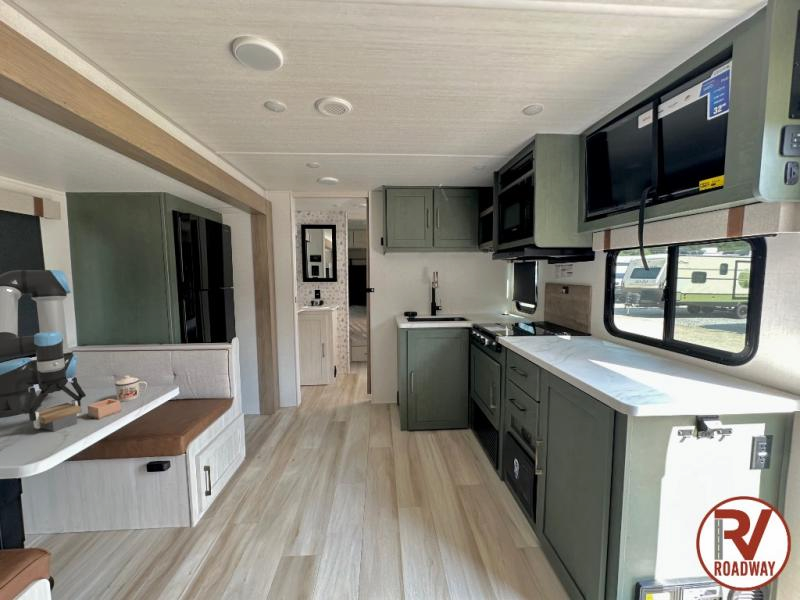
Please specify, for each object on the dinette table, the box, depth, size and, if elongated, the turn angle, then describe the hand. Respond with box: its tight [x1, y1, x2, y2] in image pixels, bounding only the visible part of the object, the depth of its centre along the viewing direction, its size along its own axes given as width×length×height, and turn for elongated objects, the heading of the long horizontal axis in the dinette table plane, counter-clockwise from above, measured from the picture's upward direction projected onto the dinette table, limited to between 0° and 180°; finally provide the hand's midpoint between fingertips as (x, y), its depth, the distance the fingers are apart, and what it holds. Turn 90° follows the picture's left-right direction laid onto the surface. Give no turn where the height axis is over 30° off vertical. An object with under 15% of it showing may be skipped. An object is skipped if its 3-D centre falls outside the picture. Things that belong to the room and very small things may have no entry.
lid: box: [36, 402, 82, 424], centre depth 130 cm, size 11×11×2 cm
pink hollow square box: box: [87, 398, 122, 420], centre depth 140 cm, size 8×8×5 cm
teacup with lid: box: [114, 374, 148, 403], centre depth 158 cm, size 12×9×12 cm
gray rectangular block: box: [40, 414, 78, 432], centre depth 130 cm, size 12×7×4 cm, turn 69°
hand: (57, 421), depth 130 cm, fingers closed on lid, 11 cm apart
